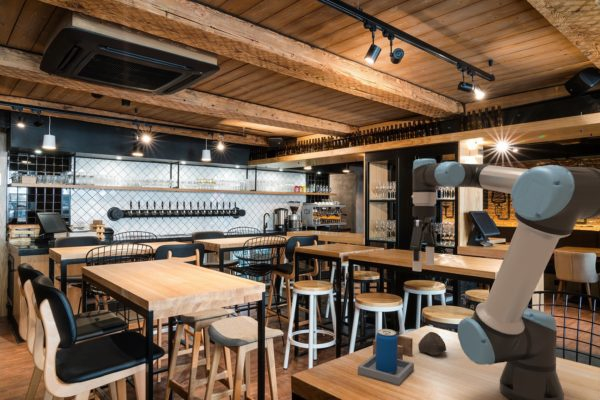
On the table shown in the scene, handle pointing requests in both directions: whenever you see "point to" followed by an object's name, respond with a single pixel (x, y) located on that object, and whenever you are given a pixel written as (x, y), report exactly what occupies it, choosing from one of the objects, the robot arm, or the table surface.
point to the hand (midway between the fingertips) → (423, 268)
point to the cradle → (400, 346)
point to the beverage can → (386, 351)
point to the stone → (432, 344)
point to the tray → (396, 378)
